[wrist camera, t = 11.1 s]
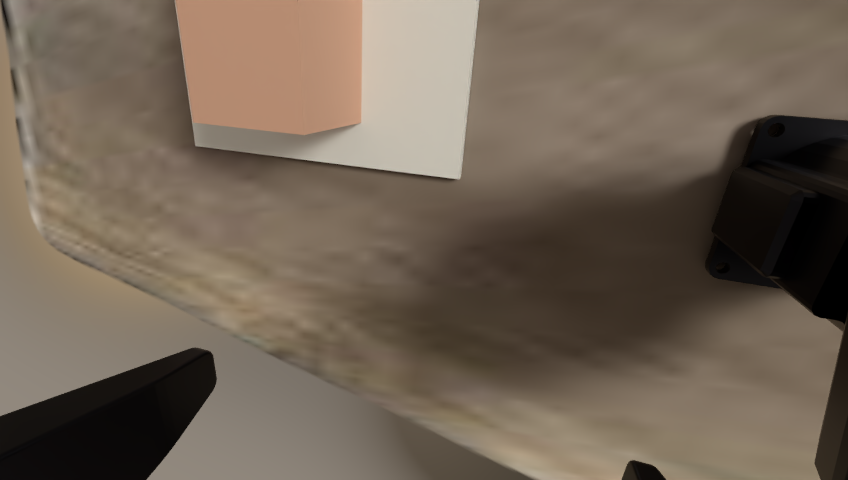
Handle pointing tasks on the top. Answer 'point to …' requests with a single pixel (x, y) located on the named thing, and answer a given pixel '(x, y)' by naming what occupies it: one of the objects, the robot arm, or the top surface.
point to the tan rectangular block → (273, 63)
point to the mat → (390, 95)
